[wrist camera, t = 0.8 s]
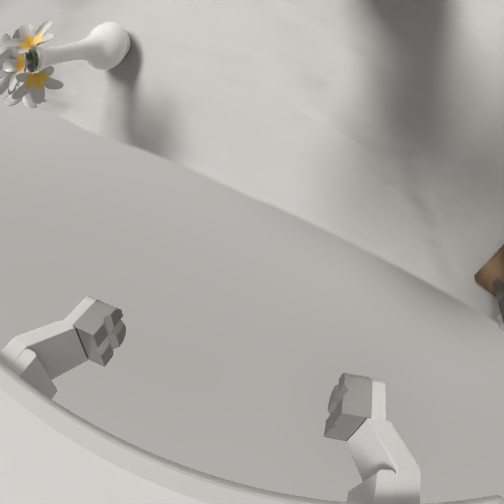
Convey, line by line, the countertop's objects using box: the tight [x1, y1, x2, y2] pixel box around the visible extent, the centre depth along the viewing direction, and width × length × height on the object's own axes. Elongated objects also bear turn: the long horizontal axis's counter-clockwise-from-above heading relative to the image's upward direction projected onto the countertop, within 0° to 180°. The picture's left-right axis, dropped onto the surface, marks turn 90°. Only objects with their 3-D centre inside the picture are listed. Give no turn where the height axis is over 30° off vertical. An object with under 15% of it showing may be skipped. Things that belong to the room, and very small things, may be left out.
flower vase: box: [0, 20, 131, 108], centre depth 34 cm, size 13×18×25 cm
